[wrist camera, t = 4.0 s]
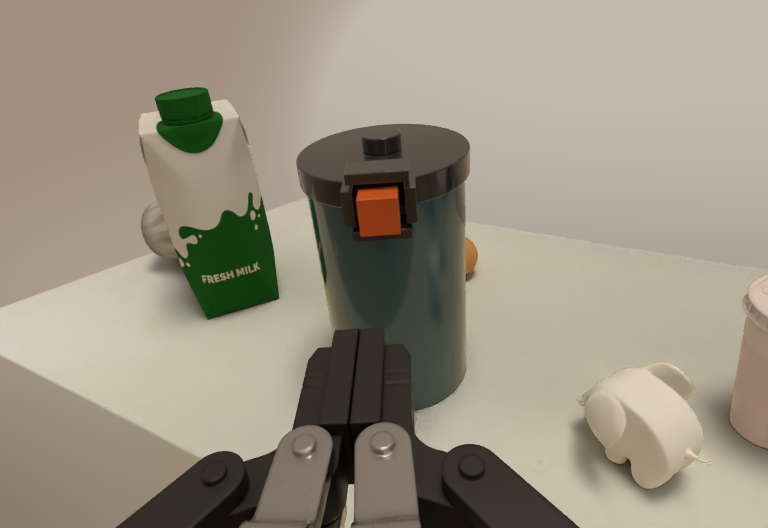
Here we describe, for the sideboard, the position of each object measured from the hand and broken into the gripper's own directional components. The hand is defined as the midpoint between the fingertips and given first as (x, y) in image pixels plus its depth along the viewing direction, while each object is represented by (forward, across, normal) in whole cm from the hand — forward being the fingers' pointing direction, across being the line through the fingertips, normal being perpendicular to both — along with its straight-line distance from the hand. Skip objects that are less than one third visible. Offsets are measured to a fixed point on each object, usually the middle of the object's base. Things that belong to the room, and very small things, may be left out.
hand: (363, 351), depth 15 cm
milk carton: (+30, +17, +18) cm, 39 cm away
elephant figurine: (+9, -14, +18) cm, 24 cm away
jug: (+18, 0, +18) cm, 25 cm away
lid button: (+11, 0, +2) cm, 11 cm away
